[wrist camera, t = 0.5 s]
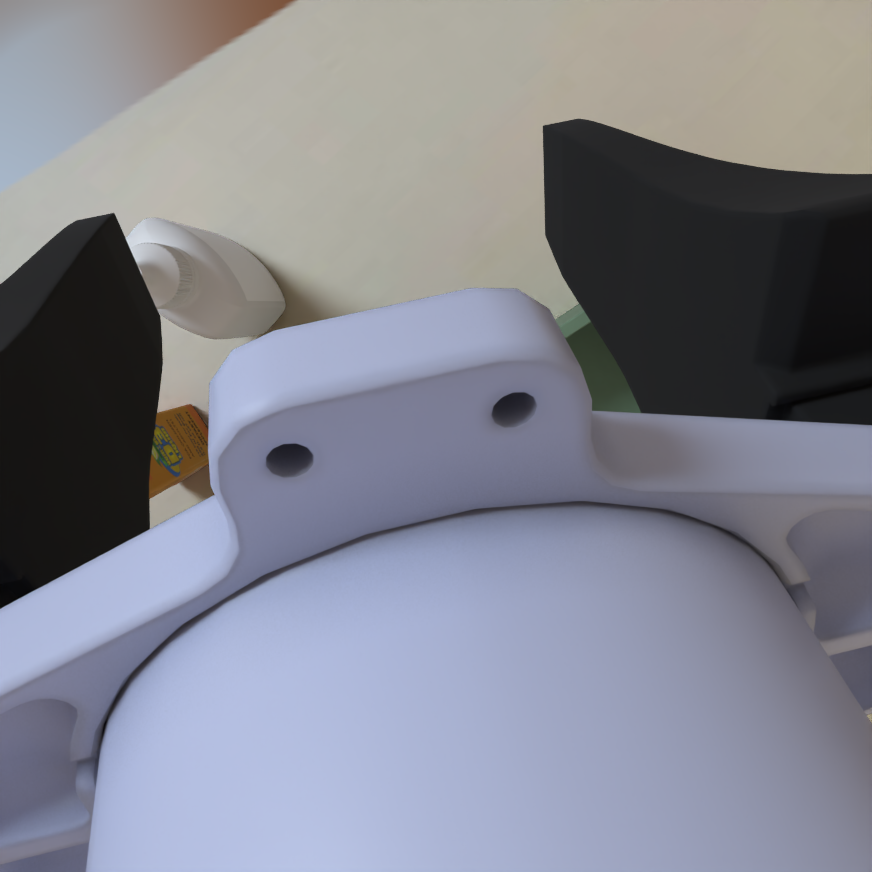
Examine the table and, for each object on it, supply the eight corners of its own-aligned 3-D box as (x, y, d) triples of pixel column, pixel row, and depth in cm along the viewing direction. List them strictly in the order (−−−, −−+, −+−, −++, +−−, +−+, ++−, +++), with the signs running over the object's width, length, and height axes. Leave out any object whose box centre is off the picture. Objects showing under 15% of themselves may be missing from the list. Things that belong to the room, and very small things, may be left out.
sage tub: (750, 499, 40) (789, 527, 35) (469, 670, 42) (468, 717, 37) (612, 281, 38) (632, 277, 33) (328, 469, 40) (309, 492, 36)
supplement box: (230, 451, 41) (152, 499, 31) (176, 484, 41) (82, 541, 31) (195, 397, 40) (104, 427, 30) (141, 430, 41) (34, 470, 31)
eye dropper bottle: (256, 214, 38) (160, 174, 27) (295, 323, 39) (218, 331, 27) (175, 243, 39) (45, 216, 27) (215, 350, 40) (105, 369, 28)
